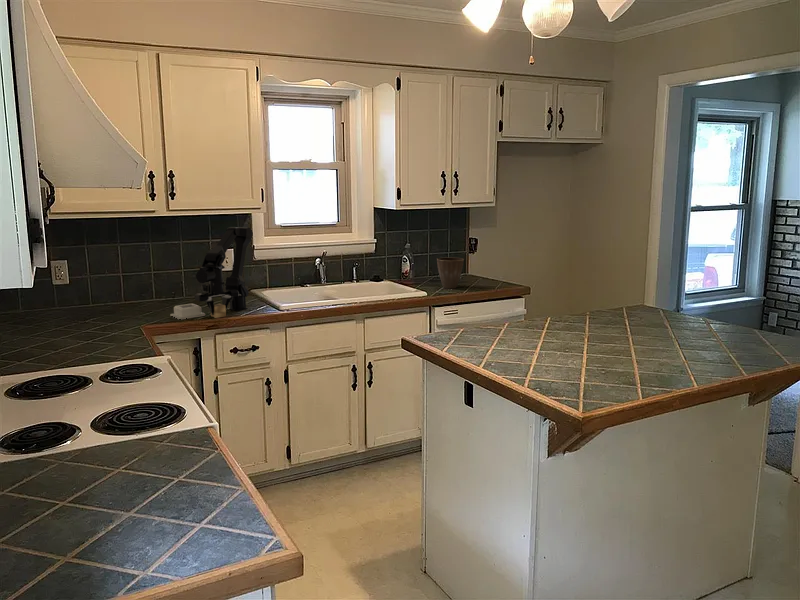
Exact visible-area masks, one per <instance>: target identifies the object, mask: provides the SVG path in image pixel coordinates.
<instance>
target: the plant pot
mask: <svg viewBox="0 0 800 600" xmlns="http://www.w3.org/2000/svg"><path fill="white" fill-rule="evenodd" d="M464 259H465V258H462V257H451V256H450V257H449V256H448V257H445V256H444V257H438V258H436V263H437V271H438V275H439V279H440V281H441V286H442V288H444V289H457V287H458V286H459V282H460V279H461V275H462V271H463V268H464V267H463V266H464V262H465V260H464Z"/></svg>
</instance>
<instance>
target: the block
mask: <svg viewBox="0 0 800 600" xmlns="http://www.w3.org/2000/svg"><path fill="white" fill-rule="evenodd" d="M210 317H212V318H215V319H218V318H222V317H223V318H224V317H227V309H226V305H223V304H222V303H217V304H214V315H212V314H211V313H210Z"/></svg>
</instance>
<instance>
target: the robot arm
mask: <svg viewBox="0 0 800 600" xmlns="http://www.w3.org/2000/svg"><path fill="white" fill-rule="evenodd" d="M225 230H226V231H225V233H224V234H223V235H222V237H221V238H220V240H219V241H218V242H217V244H216V245H215V246H214V247H212V248H210V249H209V250H208V251H207V252H206V254H205V255H204V258H203V261H202V264H201V267H199V270H198V271H197V272H196V274H195V278H196V281H197V282H198V283H200V293H199V292H198V293H195V294H194V300H195V301H196V302H197V301H198V302H204V303H206V305H207V307H208V309H209V311H210V315H211V314H212V315H214V305H215V304H214V303H215V302H214V300H213V299H214V298H219V297H220V299H221V301H222V303H221V304H223V305H226V310H227V309H228V306H229V309H230V310H232V311H243V310H248V309H249V308H248V306H247V301H246V300H247V299H246V298H247V297H248V296H249V290H248V288H247V287H246V286H245V285H246V284H245V283H246V281H245V279H244V277H243V274H244V273H243V272H244V267H245V261H246V253H247V247H248V246H249V245H250V243H251V241H252V239H253V230H252V229H251V228H250V227H249V226H248V227H247V226H244V227H243V226H242V227H241V226H238V227H236V226H229V227H227V228H226V229H225ZM233 242H234V243H235V249H234V256H233V263H232V270H231V274H230V275H229V276H226V278H225V281H224V278H223V269H225V265H223V263H224V261H225V259H226V252H227V251H228V249H229V248H230V247H231V245H232V243H233ZM205 283H208V284H205ZM224 289H225V290H224Z"/></svg>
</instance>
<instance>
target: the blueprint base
mask: <svg viewBox="0 0 800 600" xmlns="http://www.w3.org/2000/svg"><path fill="white" fill-rule="evenodd" d="M171 316H173V317H172V318H174V317H175V318H174V319H176V318H177V319H176V320H179V319H181V320H187V319H192V318H193V319H194V318H199V317H200V318H201V317H204V316H205V317H206V313H205V312H202V307H201V306H200V305H197V304H195V303H187V304H180V305H179V304H178V305H175V306H173V313H170V317H171ZM186 318H187V319H186Z"/></svg>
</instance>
